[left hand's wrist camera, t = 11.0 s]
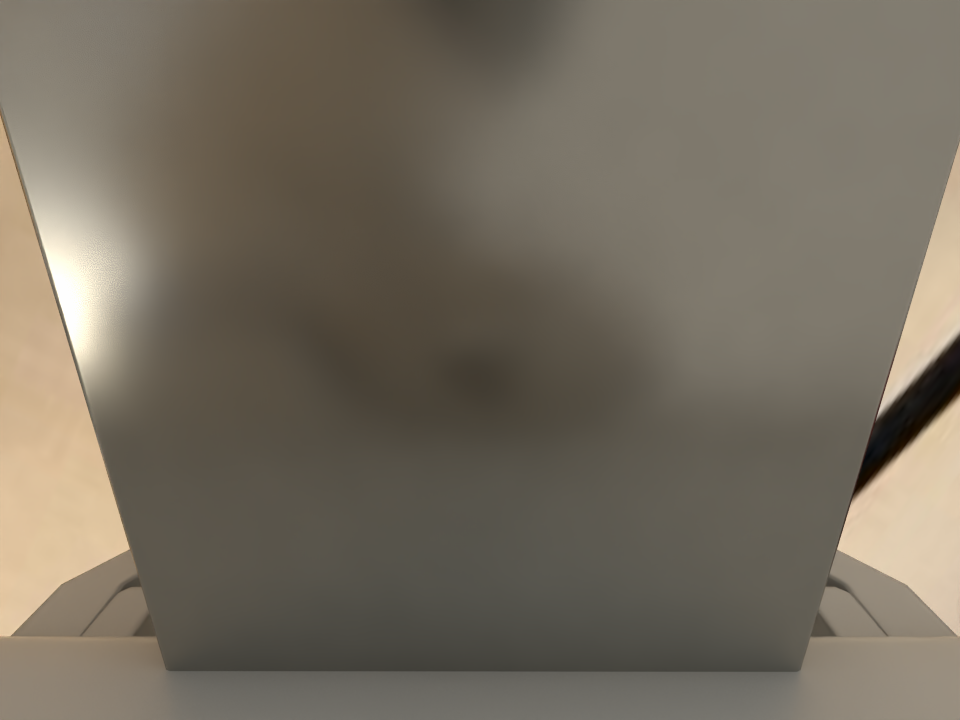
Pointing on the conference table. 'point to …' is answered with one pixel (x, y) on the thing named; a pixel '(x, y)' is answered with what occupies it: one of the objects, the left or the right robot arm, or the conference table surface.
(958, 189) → the conference table surface
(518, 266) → the box
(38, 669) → the left robot arm
